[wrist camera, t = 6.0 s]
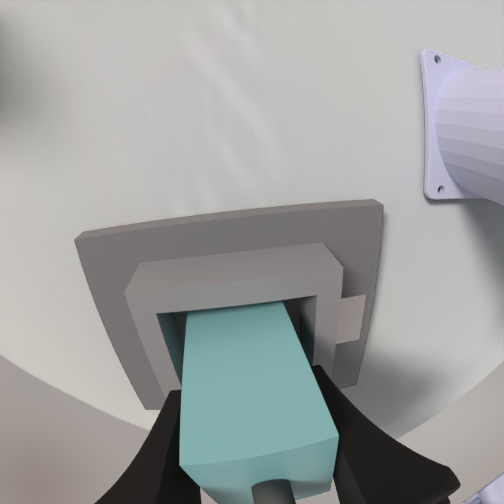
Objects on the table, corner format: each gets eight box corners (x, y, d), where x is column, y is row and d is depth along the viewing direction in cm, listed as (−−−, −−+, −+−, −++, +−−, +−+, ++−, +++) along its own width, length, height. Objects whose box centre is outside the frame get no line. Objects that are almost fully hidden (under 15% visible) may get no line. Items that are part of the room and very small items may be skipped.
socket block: (373, 199, 13) (414, 222, 10) (351, 374, 18) (368, 412, 15) (82, 232, 12) (48, 263, 9) (147, 398, 17) (140, 439, 14)
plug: (274, 284, 13) (358, 483, 4) (286, 361, 15) (340, 520, 6) (188, 302, 13) (180, 515, 4) (214, 376, 15) (230, 542, 6)
